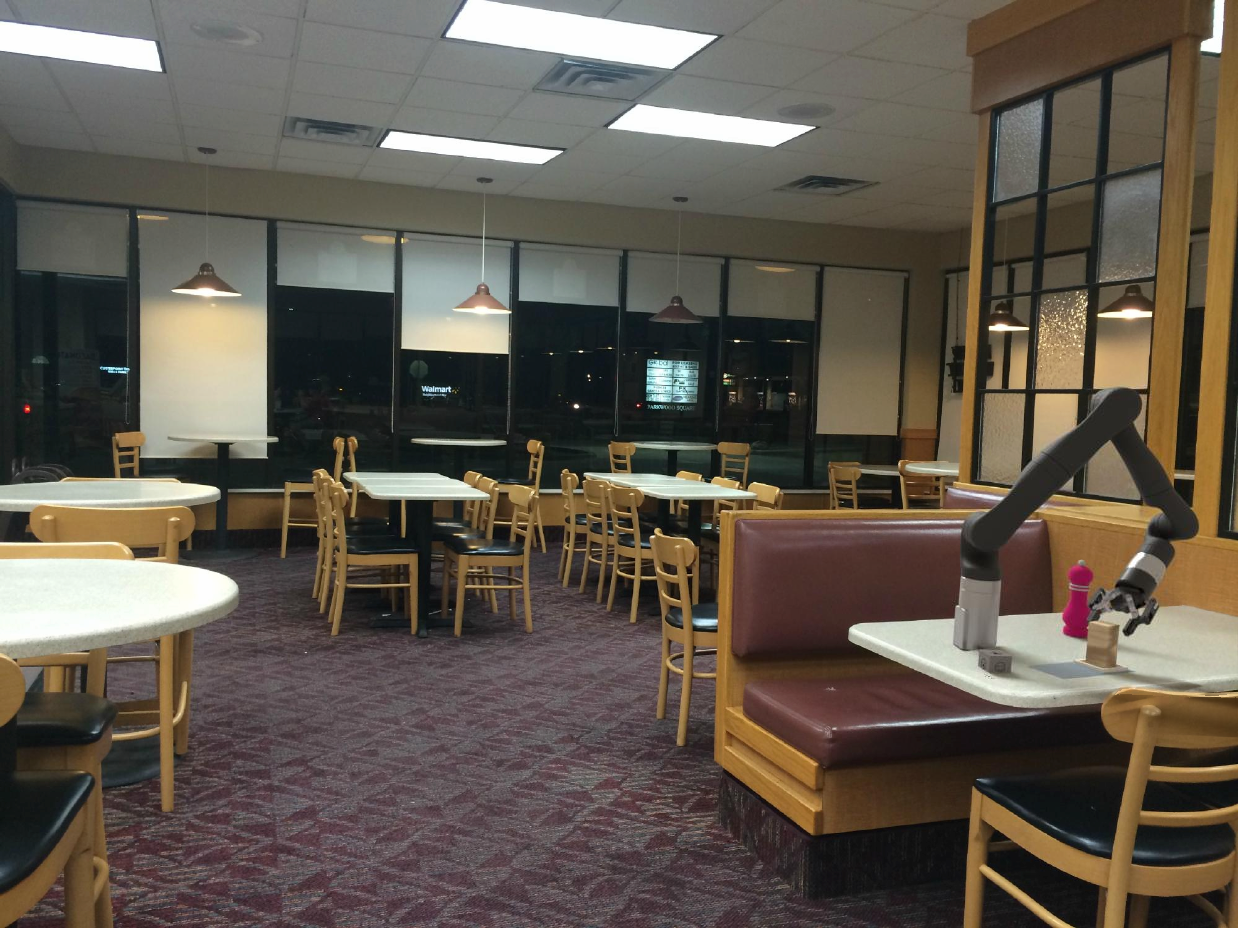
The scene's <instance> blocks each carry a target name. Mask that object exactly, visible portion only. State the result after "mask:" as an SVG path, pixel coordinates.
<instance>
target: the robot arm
mask: <svg viewBox="0 0 1238 928" xmlns="http://www.w3.org/2000/svg"><path fill="white" fill-rule="evenodd" d="M1142 409H1143V399H1142V396H1141V395H1140V394H1139V392H1137V391H1136V390H1135V389H1133V388H1130V387H1123V386H1115V387H1108V388H1107V387H1106V388H1103V389H1101V390H1099V391H1098V392H1096V393H1095V394H1094V395H1093V397H1092V399H1091V400H1090V413H1089V414H1088V416H1087V417H1086V418H1085V419H1083V420H1082V421H1081V423H1079V424H1078V425H1077V426H1076V427H1074V428H1072V429H1071V430H1069V431H1068V432H1067V433H1065V434H1063V435H1061V436H1060V437H1058V438H1057V439H1055V440H1054V441H1053V442H1051V443H1049V444H1048V445H1047V446H1046V447H1044V448H1043V449H1042V450H1041V451H1040V452H1039V453H1038V454H1036V455H1035V457H1034V458H1033V459H1031V460H1030V461H1029V463H1027V464H1026V466H1025V467H1024V468H1023V469H1022V470H1021V472H1020V474H1019V475H1018V476H1017V479H1016V480H1015V482H1014V484H1013V485H1012V487H1011V489H1010V490H1009V491H1008V493H1006V495H1005V496H1004V497H1003V498H1001V500H1000V501H998V503H996V504H995V505H994V506H993V507H991V508H990V509H988V510H987V511H985V510H978V511H974V512H972V513H970V514H968V516H966V517H965V519H964V521H963V523H962V524H961V525H962V526H961V529H960V531H961V532H960V543H959V544H960V547H959V549H960V551H959V562H960V570H961V571H960V586H959V595H958V605H955V610H954V622H953V623H954V625H953V634H952V635H953V638H952V644H954V645H955V646H956V647H957V648H959V649H961V650H968V651H977V650H978V651H979V650H986V649H991V648H997V642H998V640H997V639H998V630H999V629H998V625H999V613H1000V602H1001V589H1002V588H1001V587H1002V575H1003V574H1002V573H1003V571H1002V566H1001V564H1000V558H999V557H1000V549H1001V548H1003V547H1004V546H1005V545H1006V544H1007V543H1008V542H1009V541H1010V539H1011V538H1012V537H1013V536H1014V535H1015V533H1016V532H1017V531H1018V530H1019V528H1020V527H1021V526H1022V525H1023V524H1024V523H1025V522H1026V521H1027V519H1029V517H1030V516H1031V515H1033V514H1034V513H1035V512H1037V510H1039V509H1040V507H1042V506H1043V505H1044V504H1045V503H1046V502H1047V501H1048V500H1050V499H1051V498H1052V497H1053V496H1054V495H1055V494H1056V493H1058V491H1059V490H1061V489H1062V488H1063V487H1064V486H1065V485H1067V483H1069V481H1070V480H1071V479H1073V478H1074V476H1075V475H1076V474H1077V473H1078V472H1079V471H1080V470H1081V469H1082V468H1083V467H1084V466H1085V465H1087V463H1088V462H1089V461H1090V460H1091V459H1092V458H1093V457H1094V456H1095V455H1096V454H1097V452H1099V451H1100V449H1102V447H1103V446H1105V445H1106V444H1107V443H1108V442H1109V441H1110V442H1111V443H1112V445H1113V446H1114V447H1115V450H1116V451H1117V453H1118V455H1119V456H1120V458H1121V460H1122V462H1123V463H1124V465H1125V467H1126V468H1127V471H1128V472H1129V474H1130V476H1131V479H1132V480H1133V482H1134V485H1135V487H1136V489H1137V492H1138V493H1139V495H1140V496H1141V499H1142V501H1143V502H1144V504H1145V505H1146V506H1148V507H1151V508H1157V509H1159V510H1160V511H1162V512H1159V513H1157V514H1155V515H1154V516H1153V517H1152V518H1151V519H1150V520H1149V521H1148V524H1147V527H1146V531H1145V535H1144V539H1143V542H1142V544H1141V546H1140V547H1139V549H1138V550H1137V552H1136V553H1135V555H1134V556H1133V557H1132V558H1131V559H1130V560H1129V561H1128V563H1127V565H1126V566H1125V568H1124V569H1123V571H1122V572H1121V574H1120V575H1119V577H1118V579H1117V580H1116V582H1115V585H1114V587H1113V588H1112V589H1111V590H1107V589H1105V588H1104V587H1103V586H1099V587H1097V589H1096V590H1095V592H1094V593H1093V594H1092V596H1091V597H1090V598H1089V600H1087V602H1088V603H1087V606H1088V607H1089V609H1090V611H1091V613H1090V614H1089V616H1088V618H1087V620H1086V621H1087V624H1088V625H1089V622H1093V621H1100V619H1101V616H1103V615H1105V614H1106V613H1109V614H1110V613H1112V612H1114V611H1115V612H1118V613H1121V612H1122V613H1124V614H1125V615H1128V614H1131V618H1128V621H1127V622H1126V623H1125V625H1124V626H1123V628H1122V634H1123V635H1124V636H1125V637H1127V638H1129V637H1130V636H1132V635H1133V634H1134V633H1135V631H1136V630H1137V628H1138V626H1141V625H1143V624H1144V625H1146V626H1149V625H1150V624H1152V621H1153V620H1154V617H1155V616H1156V614H1157V612H1158V610H1159V608H1160V605H1159V603H1158V601H1157V599H1156V597H1151V596H1152V595H1153V593H1154V592H1155V590H1156V589H1157V587H1158V585H1159V584H1160V582H1161V581H1162V579H1163V578H1164V574H1165V572H1166V570H1167V569H1168V567H1169V566H1170V564H1171V562H1172V561H1173V559H1174V558H1175V555H1176V549H1175V547H1174V545H1173V544H1172V543H1171V542H1177V541H1186V540H1192V539H1193V538H1195V537H1196V536H1197V535H1198V533H1199V532H1200V522H1199V518H1198V517H1197V514H1196V513H1195V511H1194V510H1193V509H1192V507H1190V505H1189V504H1188V503H1187V502H1186V501H1185V499H1183V498H1182V496H1181V495H1180V494H1179V493H1178V492H1177V491H1176V490H1175V488H1174V486H1173V483H1172V482H1171V480H1170V477H1169V476H1168V473H1167V472H1166V470H1165V468H1164V466H1163V465H1162V463H1161V461H1160V460H1159V459H1158V458H1157V456H1156V455H1155V454H1154V453H1153V451H1151V449H1150V448H1149V446H1147V444H1146V443H1145V441H1144V440H1143V438H1142V437H1141V435H1140V433H1139V432H1138V429H1137V427H1136V425H1135V421H1136V420H1137V419H1138V418H1139V416H1140V414H1141V412H1142ZM1109 603H1110V606H1109ZM1144 607H1145V608H1144ZM1141 608H1144V610H1143V611H1142V613H1141V615H1140V612H1139V609H1141Z"/></svg>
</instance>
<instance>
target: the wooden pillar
mask: <svg viewBox="0 0 1238 928" xmlns="http://www.w3.org/2000/svg"><path fill="white" fill-rule="evenodd" d="M1120 626H1121V625H1120V624H1117V623H1114V622H1113V623H1112V622H1109V621H1104V620H1100V619H1099V620H1098V621H1093V622H1089V626H1088V627H1087V629H1088V637H1086V638H1087V640H1086V652H1085V653H1086V654H1085V659H1086V662H1085V663H1088V664H1091V665H1094V666H1097V667H1100V668H1112V667H1116V663H1117V658H1118V646H1119V645H1118V644H1119V637H1120V635H1119V634H1120Z"/></svg>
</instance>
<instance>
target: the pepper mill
mask: <svg viewBox="0 0 1238 928" xmlns="http://www.w3.org/2000/svg"><path fill="white" fill-rule="evenodd" d="M1077 564H1078V565H1074V566H1072V567H1071V568H1070V569H1069V570H1068V572H1067V576H1068V579H1069V581H1070V583H1069V586H1068V589H1069V590H1070V597H1069V601H1068V603H1067V605H1066V606H1065V608H1064V609H1063V612H1062V617H1061V620H1062V621H1063V623H1064V624H1065V625H1063V627H1062V633H1063V634H1064V635H1066V636H1070V637H1074V638H1088V626H1089V625H1088V624H1087V621H1086V620H1087V618H1088V616H1089V614H1090V613H1091V611H1090V609H1089V607H1088V606H1087V603H1088V595H1089V592H1090V591H1091V585H1090V584H1091V583H1092V582H1093V580H1094V572H1093V571H1092V569H1091V568H1089V567H1088V566H1086V561H1085V560H1083V559H1080V560H1078V562H1077Z"/></svg>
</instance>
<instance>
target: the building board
mask: <svg viewBox="0 0 1238 928" xmlns="http://www.w3.org/2000/svg"><path fill="white" fill-rule="evenodd" d="M1085 662H1086V658H1081V659H1073V661H1066V662H1065V661H1064V662H1058V663H1057V662H1056V663H1045V664H1036V665H1034V664H1033V665H1027V667H1028V668H1031V669H1035V670H1037V671H1039V672H1042V673H1046V674H1048V675H1052V676H1054V677H1057V678H1060V679H1063V680H1067V679H1077V678H1087V677H1097V676H1106V675H1107V676H1108V675H1117V674H1126V673H1127V674H1128V673H1135V672H1136V671H1135V670H1132V669H1129V667H1128V666H1127V665H1123V664H1119V663H1117V662H1116V667H1112V668H1100V667H1097V666H1094V665H1091V664H1088V663H1085Z"/></svg>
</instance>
